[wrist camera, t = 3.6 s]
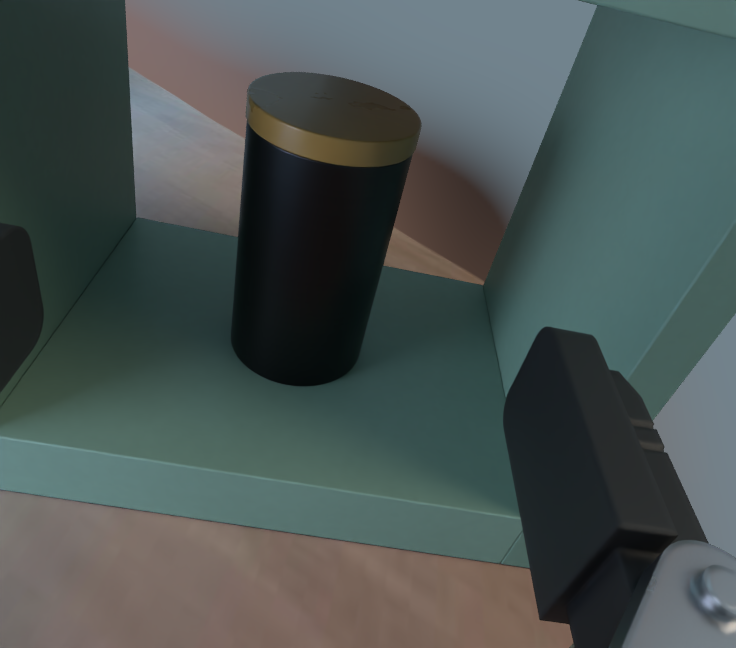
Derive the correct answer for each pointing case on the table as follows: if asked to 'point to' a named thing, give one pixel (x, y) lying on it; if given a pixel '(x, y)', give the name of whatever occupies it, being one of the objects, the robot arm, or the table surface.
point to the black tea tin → (315, 221)
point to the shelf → (390, 306)
